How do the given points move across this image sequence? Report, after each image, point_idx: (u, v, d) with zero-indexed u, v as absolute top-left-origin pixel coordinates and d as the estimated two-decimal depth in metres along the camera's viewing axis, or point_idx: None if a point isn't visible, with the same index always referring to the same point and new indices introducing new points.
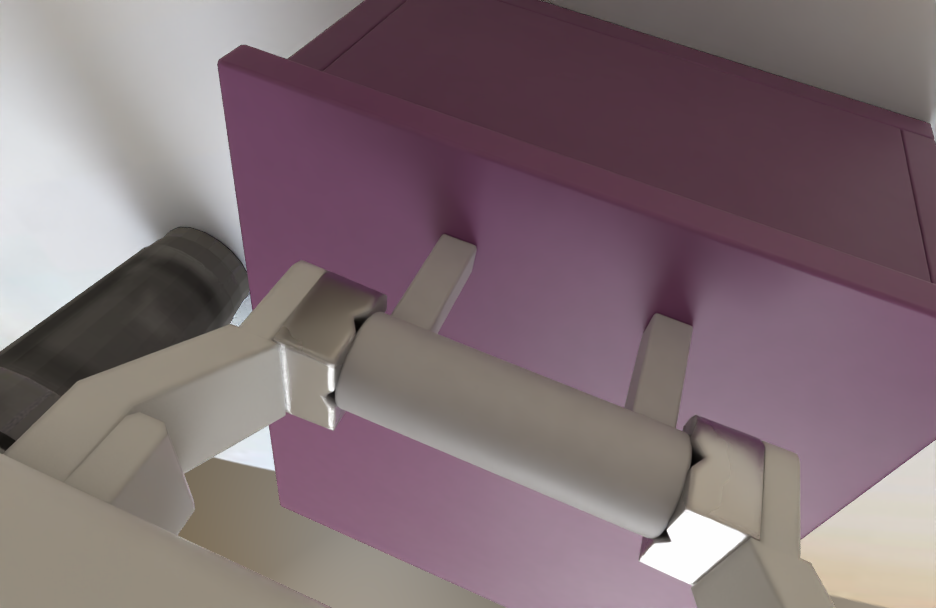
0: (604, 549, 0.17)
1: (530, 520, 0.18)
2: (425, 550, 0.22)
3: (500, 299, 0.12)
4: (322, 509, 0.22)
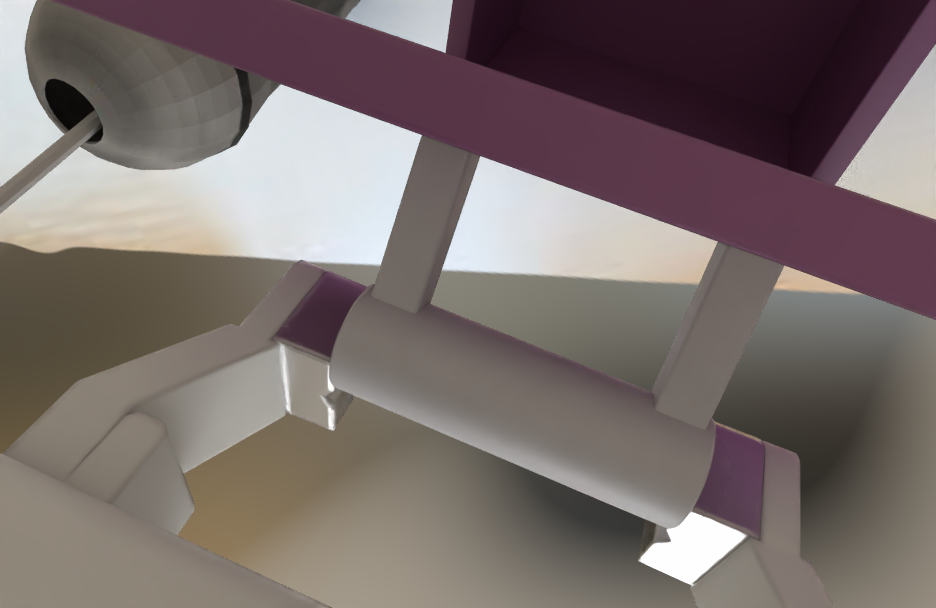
0: None
1: None
2: None
3: None
4: None
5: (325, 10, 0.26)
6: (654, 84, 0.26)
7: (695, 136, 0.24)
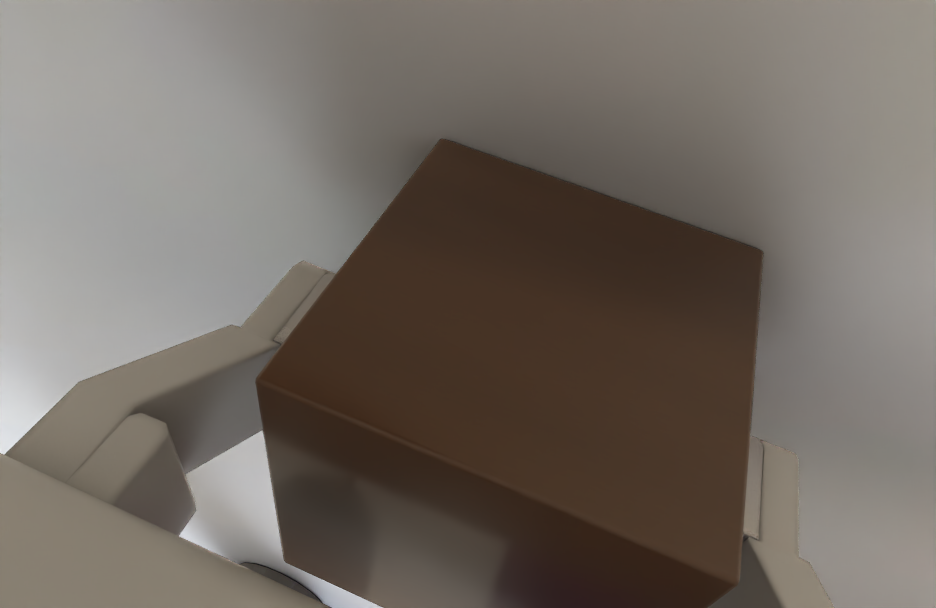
0: None
1: None
2: None
3: None
4: None
5: None
6: None
7: None
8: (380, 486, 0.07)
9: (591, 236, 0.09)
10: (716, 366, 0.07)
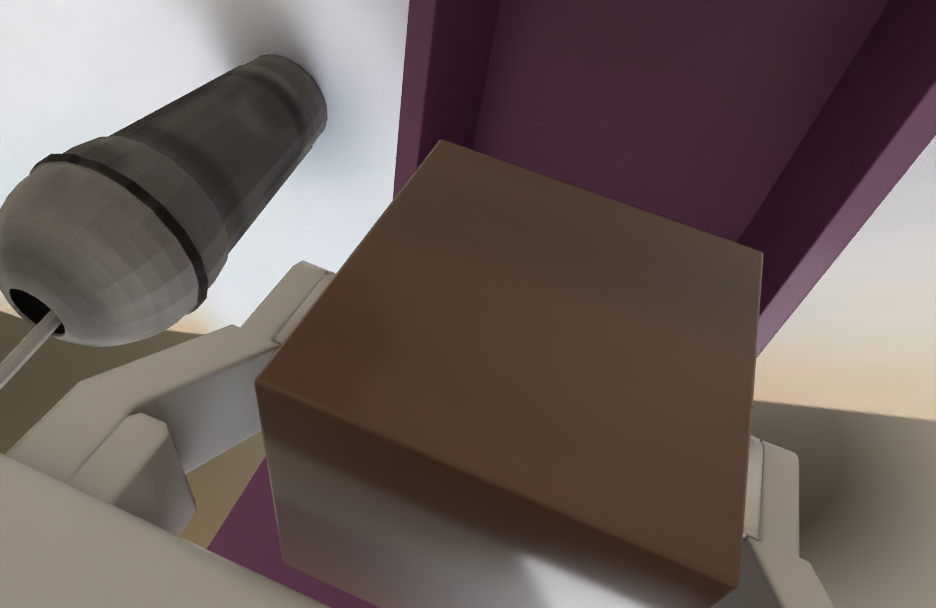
0: None
1: None
2: None
3: None
4: None
5: (282, 164, 0.28)
6: None
7: None
8: (379, 487, 0.07)
9: (590, 237, 0.09)
10: (716, 367, 0.07)
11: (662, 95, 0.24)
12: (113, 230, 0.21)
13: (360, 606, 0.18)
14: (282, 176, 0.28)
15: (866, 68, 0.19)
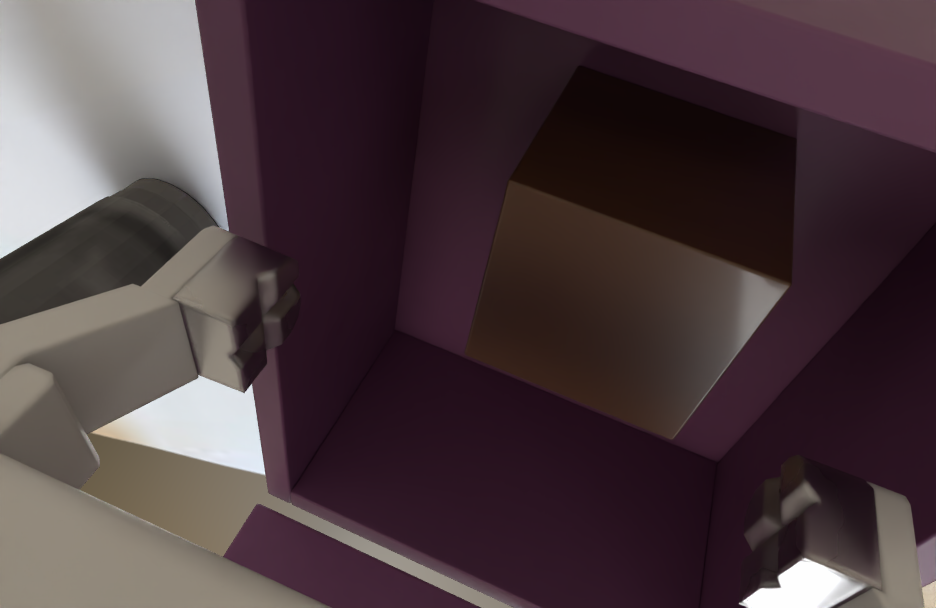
0: None
1: None
2: None
3: None
4: None
5: None
6: (550, 424, 0.22)
7: (588, 529, 0.19)
8: (571, 254, 0.12)
9: (685, 124, 0.13)
10: (771, 193, 0.12)
11: None
12: None
13: None
14: None
15: (917, 307, 0.13)
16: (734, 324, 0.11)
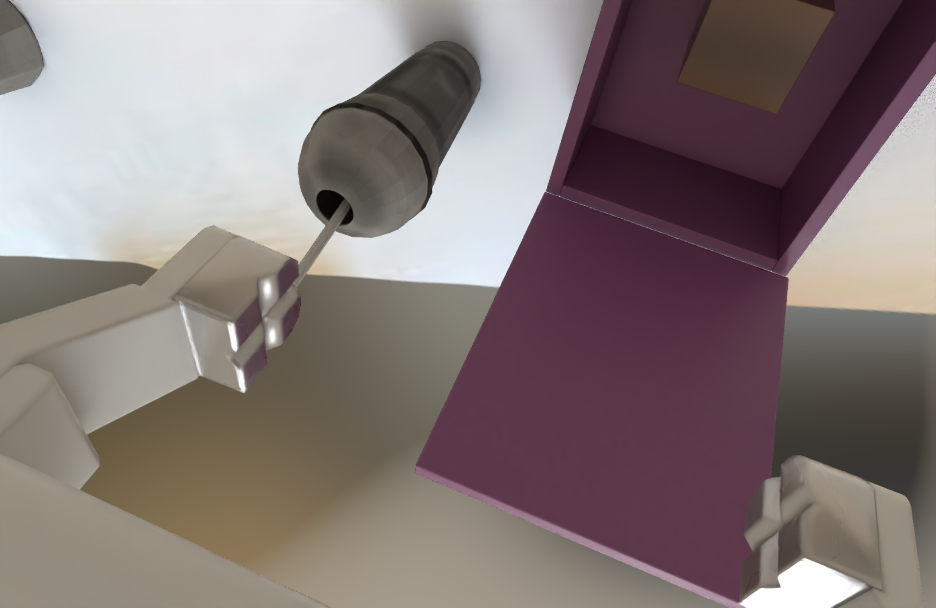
0: None
1: None
2: None
3: None
4: None
5: (461, 119, 0.39)
6: (687, 168, 0.38)
7: (717, 208, 0.36)
8: (743, 11, 0.28)
9: None
10: None
11: None
12: (391, 151, 0.31)
13: (572, 377, 0.28)
14: (459, 128, 0.39)
15: (887, 45, 0.30)
16: (811, 36, 0.28)
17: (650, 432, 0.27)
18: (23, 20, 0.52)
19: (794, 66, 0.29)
